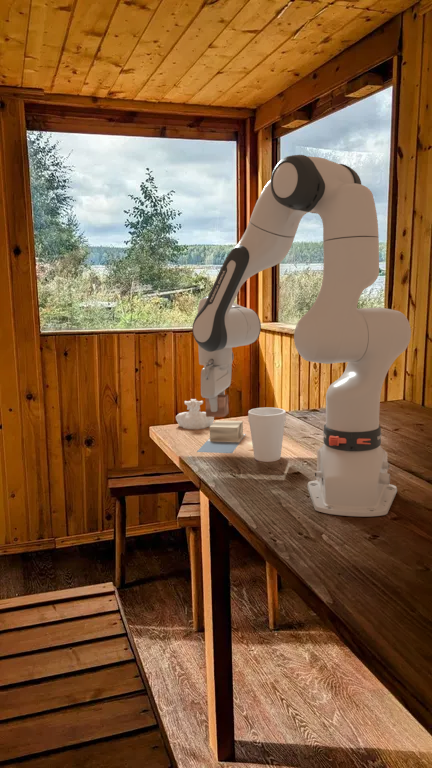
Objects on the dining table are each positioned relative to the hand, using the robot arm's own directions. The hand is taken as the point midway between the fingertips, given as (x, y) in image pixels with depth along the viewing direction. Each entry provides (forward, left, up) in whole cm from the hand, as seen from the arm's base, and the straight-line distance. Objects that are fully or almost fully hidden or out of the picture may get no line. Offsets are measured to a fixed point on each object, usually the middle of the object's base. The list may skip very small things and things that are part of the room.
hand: (217, 408), depth 160 cm
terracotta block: (0, 0, -2) cm, 2 cm away
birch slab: (+11, 0, -11) cm, 16 cm away
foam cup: (-7, -14, -12) cm, 20 cm away
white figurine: (+22, +13, -12) cm, 28 cm away
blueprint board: (+6, 0, -12) cm, 13 cm away
